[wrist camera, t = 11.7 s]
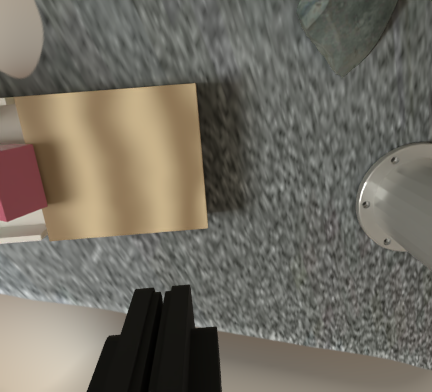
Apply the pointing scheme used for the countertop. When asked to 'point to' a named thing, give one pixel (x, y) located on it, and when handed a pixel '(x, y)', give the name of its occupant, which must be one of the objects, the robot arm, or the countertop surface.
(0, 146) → the pink toy cube
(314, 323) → the countertop surface
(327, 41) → the stone
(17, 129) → the tray
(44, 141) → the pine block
